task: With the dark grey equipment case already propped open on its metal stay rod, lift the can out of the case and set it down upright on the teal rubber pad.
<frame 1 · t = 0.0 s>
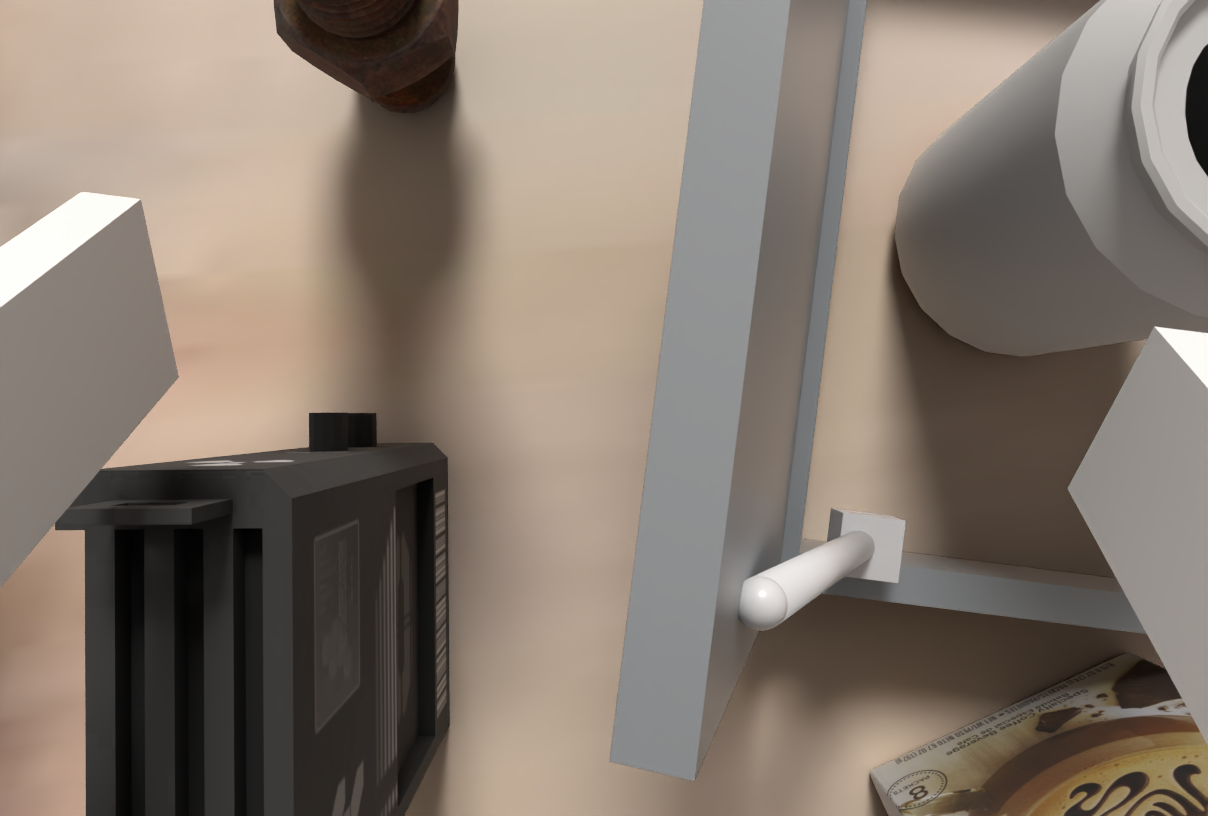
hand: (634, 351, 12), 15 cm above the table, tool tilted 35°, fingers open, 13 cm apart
case: (1006, 237, 27), on the table
geiger counter: (376, 582, 27), on the table
coffee box: (1034, 795, 27), on the table
bolt: (409, 67, 28), on the table
can: (1003, 238, 28), resting in case
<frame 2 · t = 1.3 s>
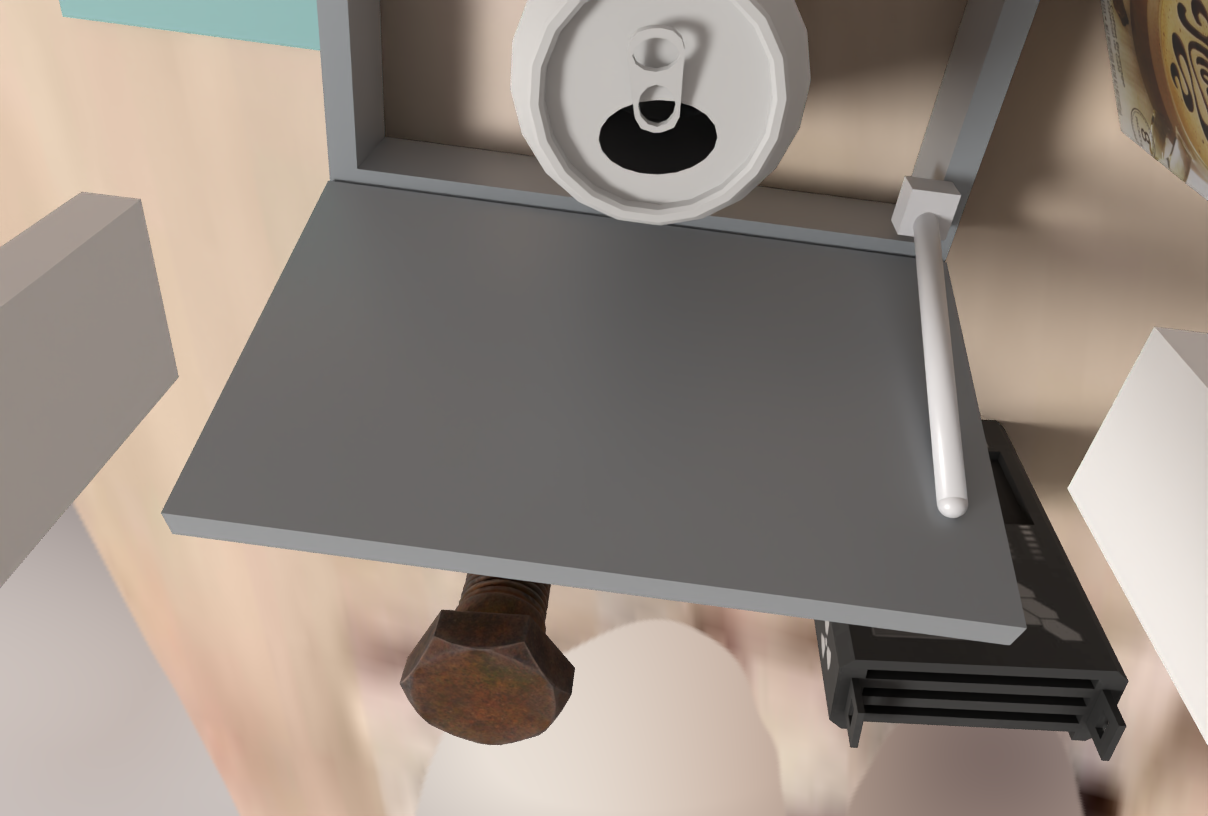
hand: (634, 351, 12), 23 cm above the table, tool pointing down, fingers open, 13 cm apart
case: (666, 2, 30), on the table
geiger counter: (887, 455, 41), on the table
bolt: (543, 427, 42), on the table
can: (666, 1, 31), resting in case
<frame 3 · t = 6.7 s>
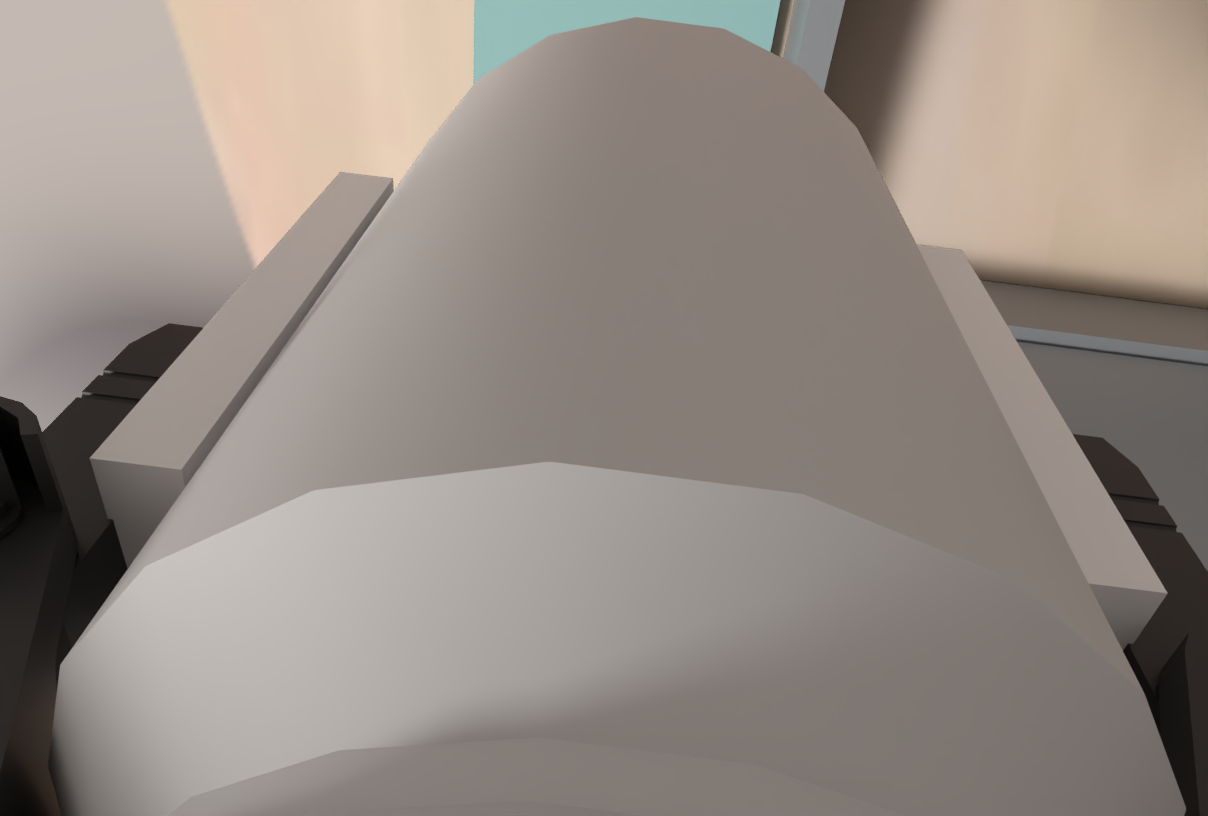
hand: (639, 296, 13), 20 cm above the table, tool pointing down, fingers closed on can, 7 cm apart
case: (1093, 131, 31), on the table
can: (645, 244, 15), point 18 cm above the table, touching gripper
pad: (625, 9, 30), on the table
when the fingers open (3 cm above the table, at t = 9.8 s): can drops 1 cm, resting on pad.
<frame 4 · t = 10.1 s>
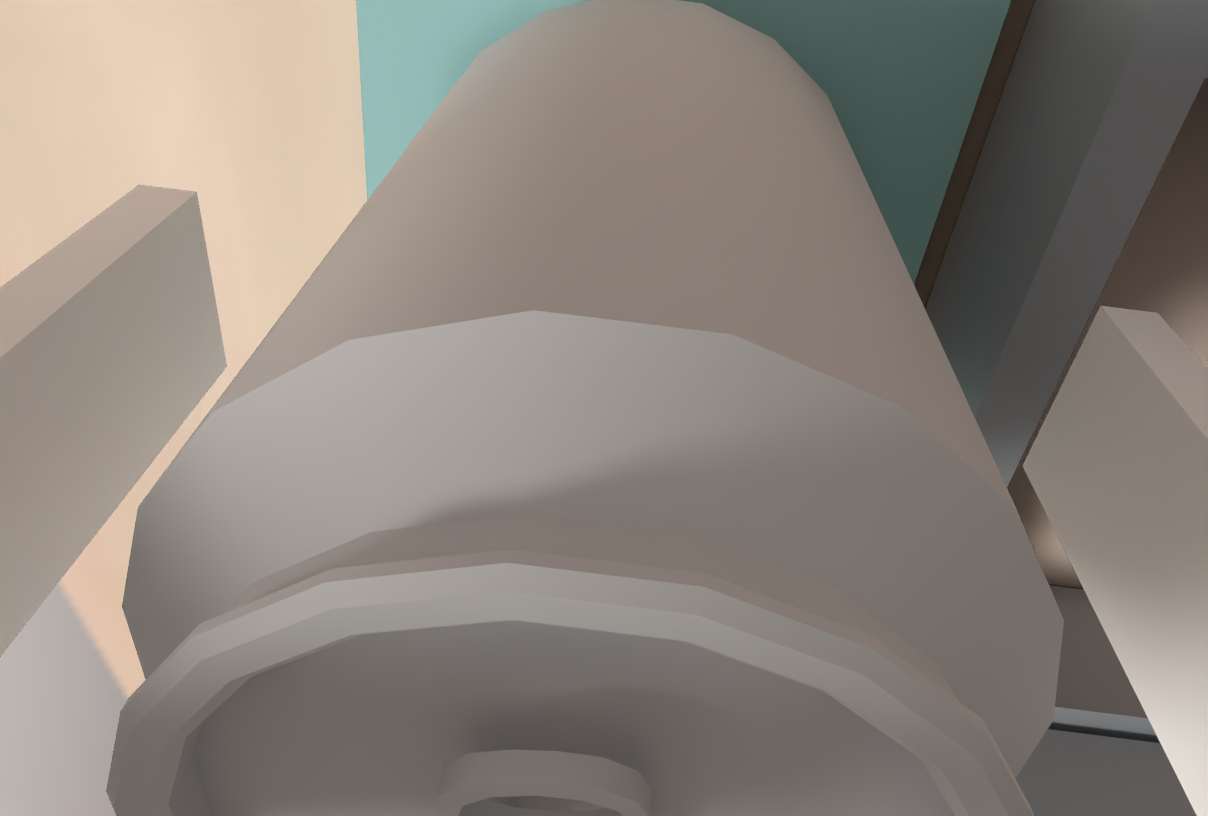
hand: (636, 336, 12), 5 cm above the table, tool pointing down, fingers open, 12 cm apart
can: (635, 208, 16), resting on pad
pad: (646, 207, 16), on the table
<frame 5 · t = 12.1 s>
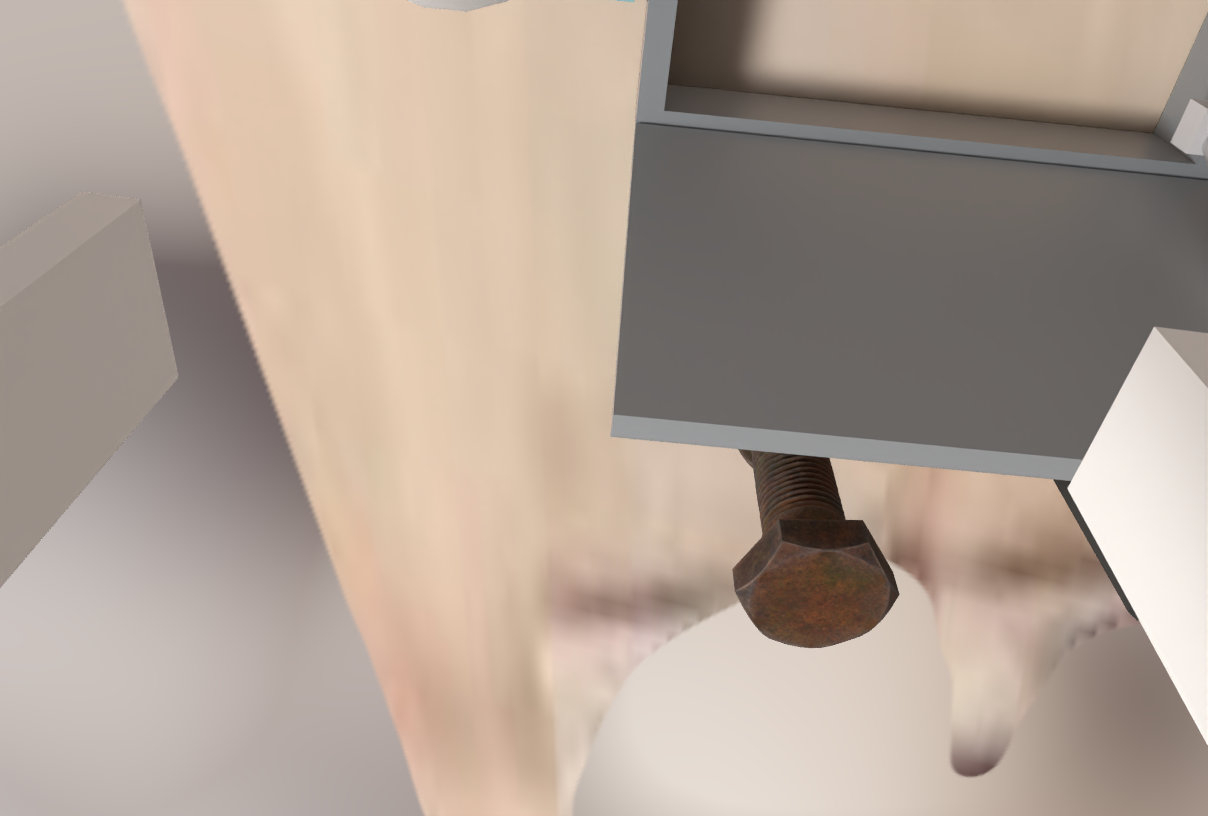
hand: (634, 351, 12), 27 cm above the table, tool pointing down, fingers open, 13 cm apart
geiger counter: (1101, 381, 43), on the table
bolt: (772, 366, 44), on the table
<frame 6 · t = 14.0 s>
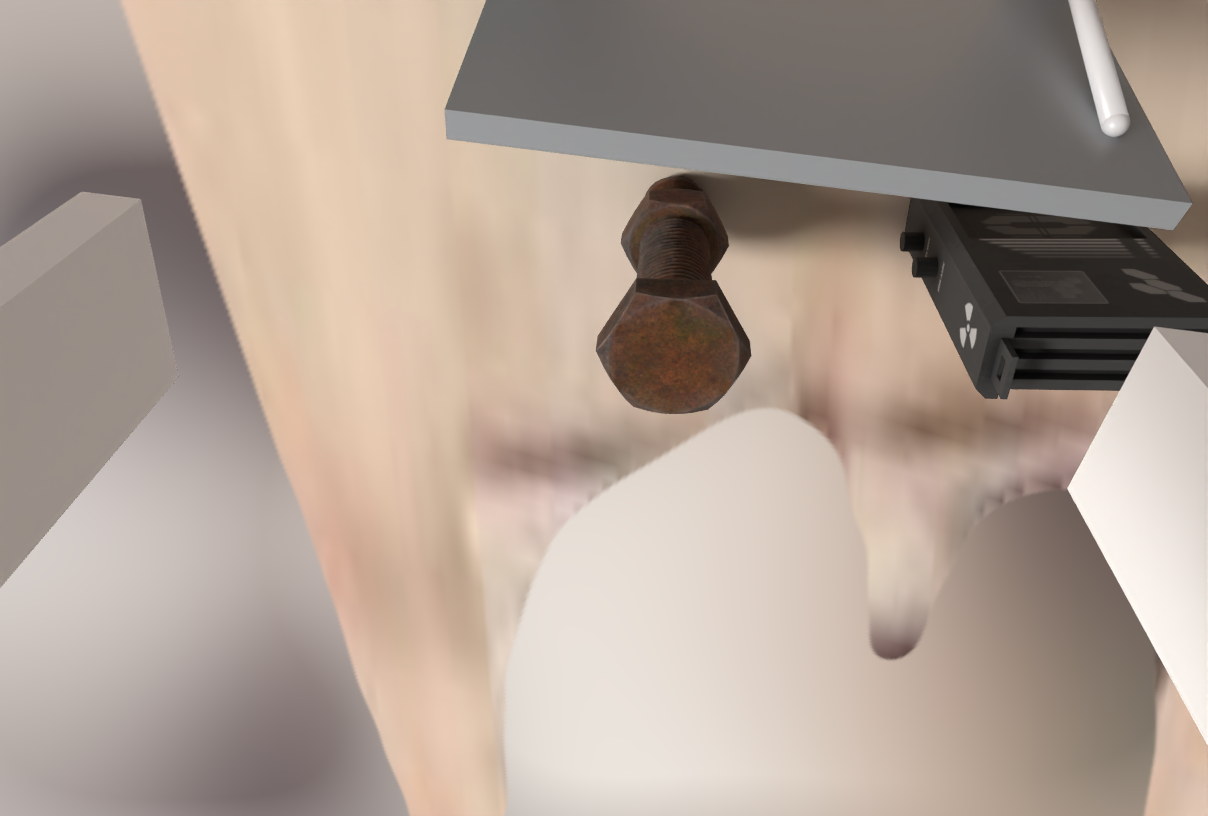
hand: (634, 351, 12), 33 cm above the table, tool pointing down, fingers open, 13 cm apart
geiger counter: (993, 221, 45), on the table
bolt: (675, 201, 45), on the table
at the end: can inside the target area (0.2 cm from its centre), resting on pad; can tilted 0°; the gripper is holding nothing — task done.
